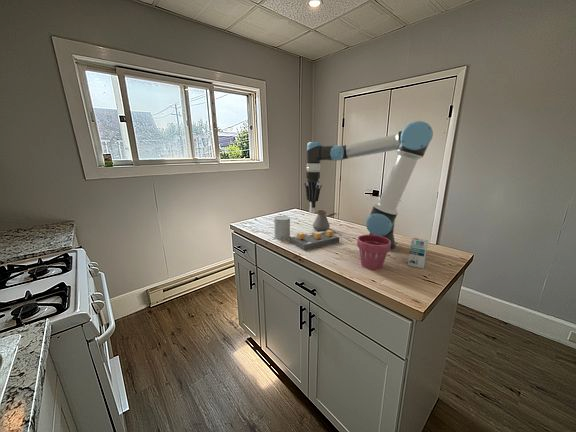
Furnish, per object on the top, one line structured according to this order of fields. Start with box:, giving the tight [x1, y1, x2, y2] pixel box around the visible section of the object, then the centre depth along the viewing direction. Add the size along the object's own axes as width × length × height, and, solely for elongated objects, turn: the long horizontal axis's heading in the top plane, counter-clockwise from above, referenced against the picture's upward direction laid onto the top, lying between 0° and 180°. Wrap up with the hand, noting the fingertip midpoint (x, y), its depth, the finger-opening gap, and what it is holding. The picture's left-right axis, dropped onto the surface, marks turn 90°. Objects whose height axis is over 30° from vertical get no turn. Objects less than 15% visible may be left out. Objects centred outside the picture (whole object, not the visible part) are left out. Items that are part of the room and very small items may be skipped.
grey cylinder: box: [273, 215, 291, 241], centre depth 143 cm, size 10×10×12 cm
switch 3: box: [325, 229, 334, 237], centre depth 138 cm, size 3×3×3 cm
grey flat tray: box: [289, 230, 340, 251], centre depth 137 cm, size 14×25×3 cm, turn 122°
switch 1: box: [296, 231, 306, 239], centre depth 133 cm, size 3×3×3 cm
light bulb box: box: [407, 237, 429, 269], centre depth 111 cm, size 11×7×11 cm, turn 148°
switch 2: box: [313, 231, 321, 239], centre depth 134 cm, size 3×3×3 cm
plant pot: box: [356, 234, 391, 271], centre depth 107 cm, size 14×14×13 cm
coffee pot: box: [312, 209, 339, 232], centre depth 154 cm, size 21×12×15 cm, turn 26°
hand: (312, 212), depth 136 cm, fingers closed
